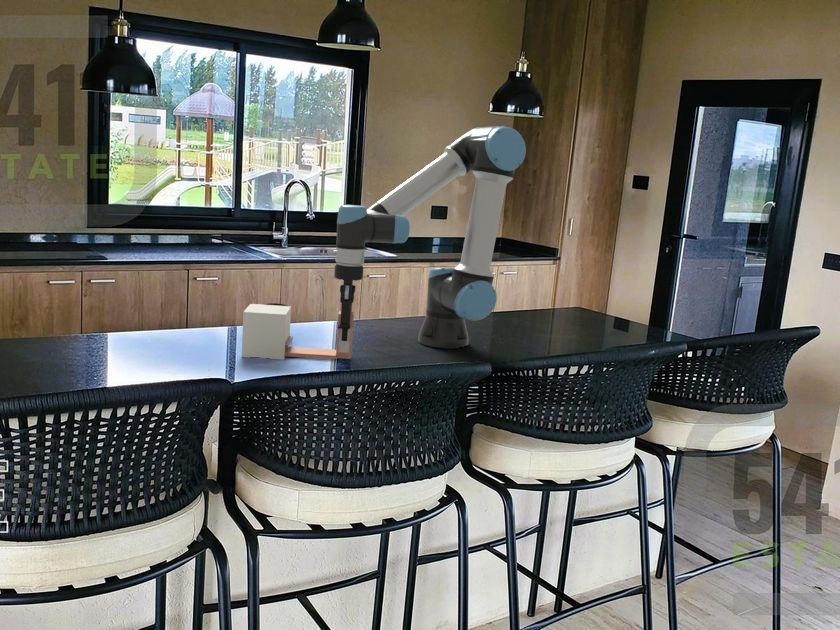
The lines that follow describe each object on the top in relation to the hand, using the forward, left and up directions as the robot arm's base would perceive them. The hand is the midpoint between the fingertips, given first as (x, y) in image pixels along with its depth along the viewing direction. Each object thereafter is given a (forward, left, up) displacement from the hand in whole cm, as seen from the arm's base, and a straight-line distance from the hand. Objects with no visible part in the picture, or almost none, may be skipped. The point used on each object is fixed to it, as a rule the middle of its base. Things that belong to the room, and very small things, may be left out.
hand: (344, 350), depth 227 cm
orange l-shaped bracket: (+7, 0, -2) cm, 8 cm away
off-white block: (+21, 0, -2) cm, 21 cm away
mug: (+20, -18, -2) cm, 27 cm away
